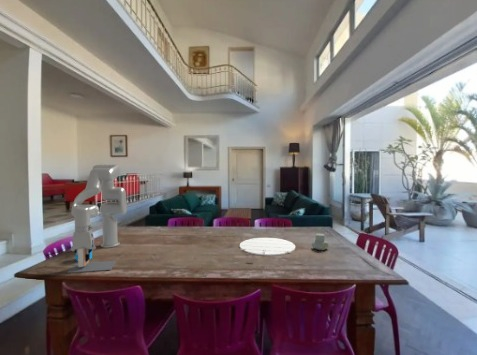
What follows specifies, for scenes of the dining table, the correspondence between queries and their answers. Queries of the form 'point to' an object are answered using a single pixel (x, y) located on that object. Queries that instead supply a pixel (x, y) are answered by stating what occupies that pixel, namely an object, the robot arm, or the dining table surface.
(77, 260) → the mug
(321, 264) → the dining table surface
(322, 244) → the air freshener
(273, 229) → the dining table surface
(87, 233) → the robot arm
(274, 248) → the lazy susan
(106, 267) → the mat
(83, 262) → the white rectangular block
